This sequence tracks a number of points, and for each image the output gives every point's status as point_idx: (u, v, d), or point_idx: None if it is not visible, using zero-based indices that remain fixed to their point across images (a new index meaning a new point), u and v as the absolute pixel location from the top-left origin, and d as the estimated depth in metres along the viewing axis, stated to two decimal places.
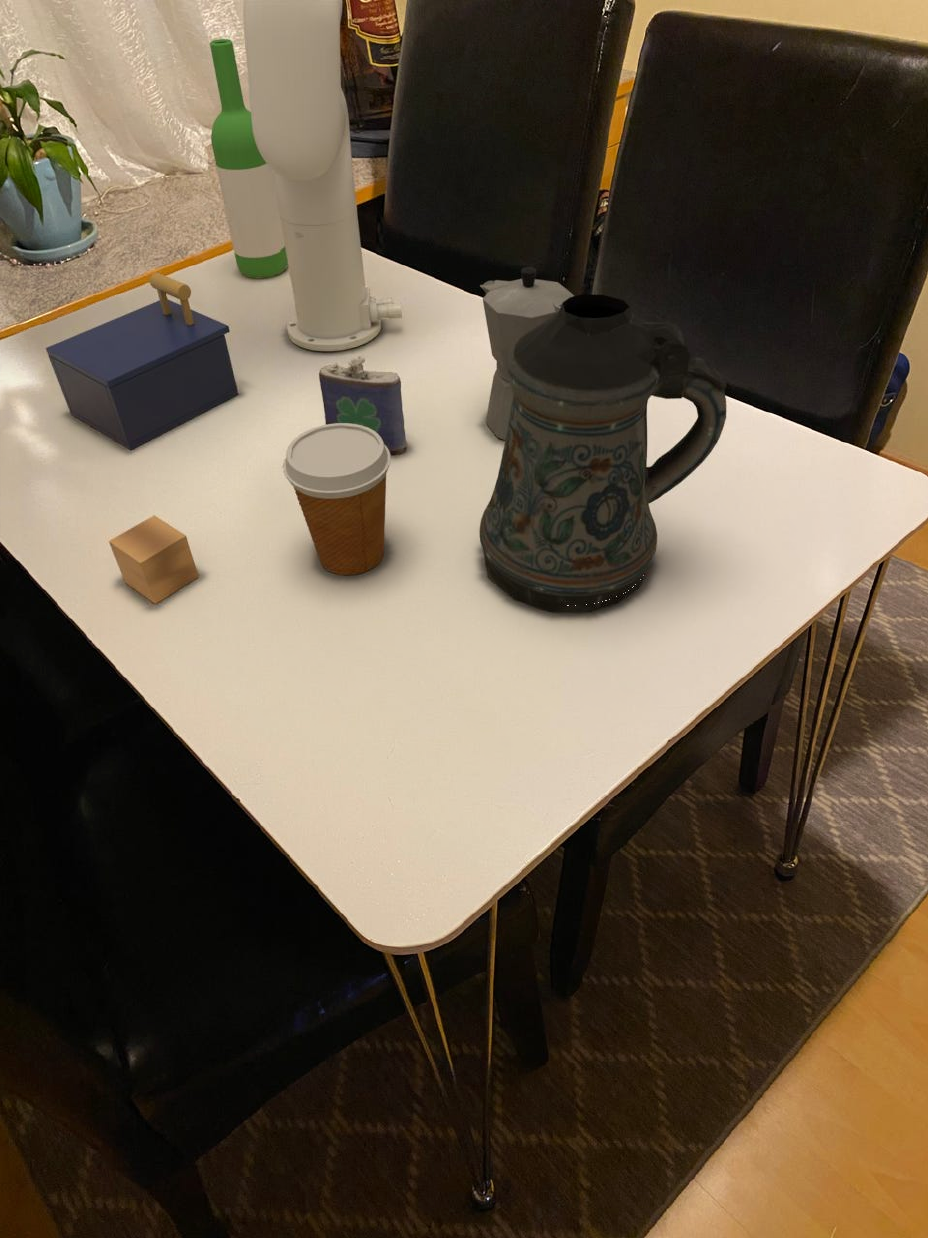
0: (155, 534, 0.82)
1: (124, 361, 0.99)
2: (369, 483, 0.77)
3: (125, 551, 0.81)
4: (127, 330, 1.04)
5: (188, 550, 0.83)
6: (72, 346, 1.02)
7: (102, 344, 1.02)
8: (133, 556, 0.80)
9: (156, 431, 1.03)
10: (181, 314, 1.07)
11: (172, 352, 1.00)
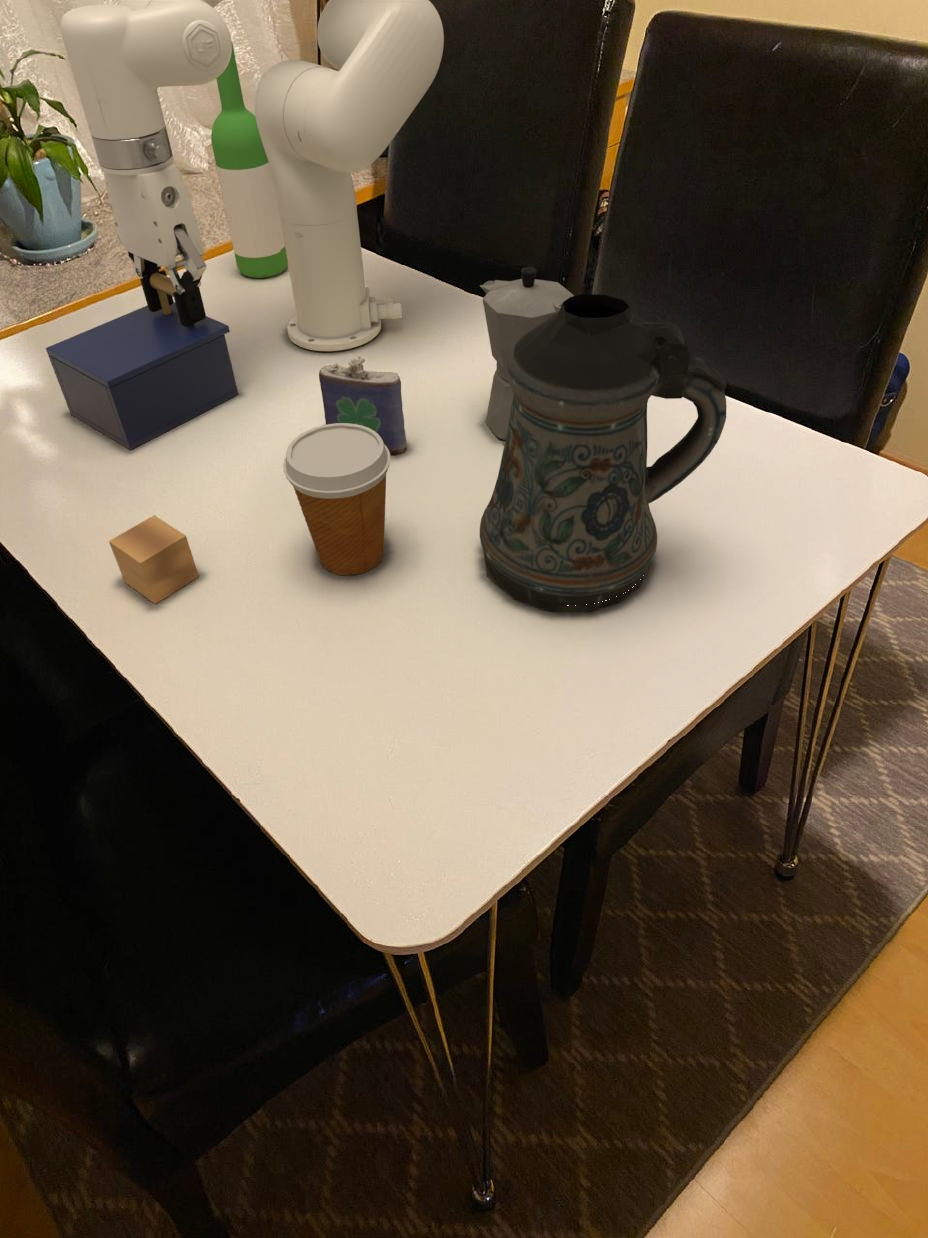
0: (155, 534, 0.82)
1: (124, 361, 0.99)
2: (369, 483, 0.77)
3: (125, 551, 0.81)
4: (127, 330, 1.04)
5: (188, 550, 0.83)
6: (72, 346, 1.02)
7: (102, 344, 1.02)
8: (133, 556, 0.80)
9: (156, 431, 1.03)
10: None
11: (172, 352, 1.00)
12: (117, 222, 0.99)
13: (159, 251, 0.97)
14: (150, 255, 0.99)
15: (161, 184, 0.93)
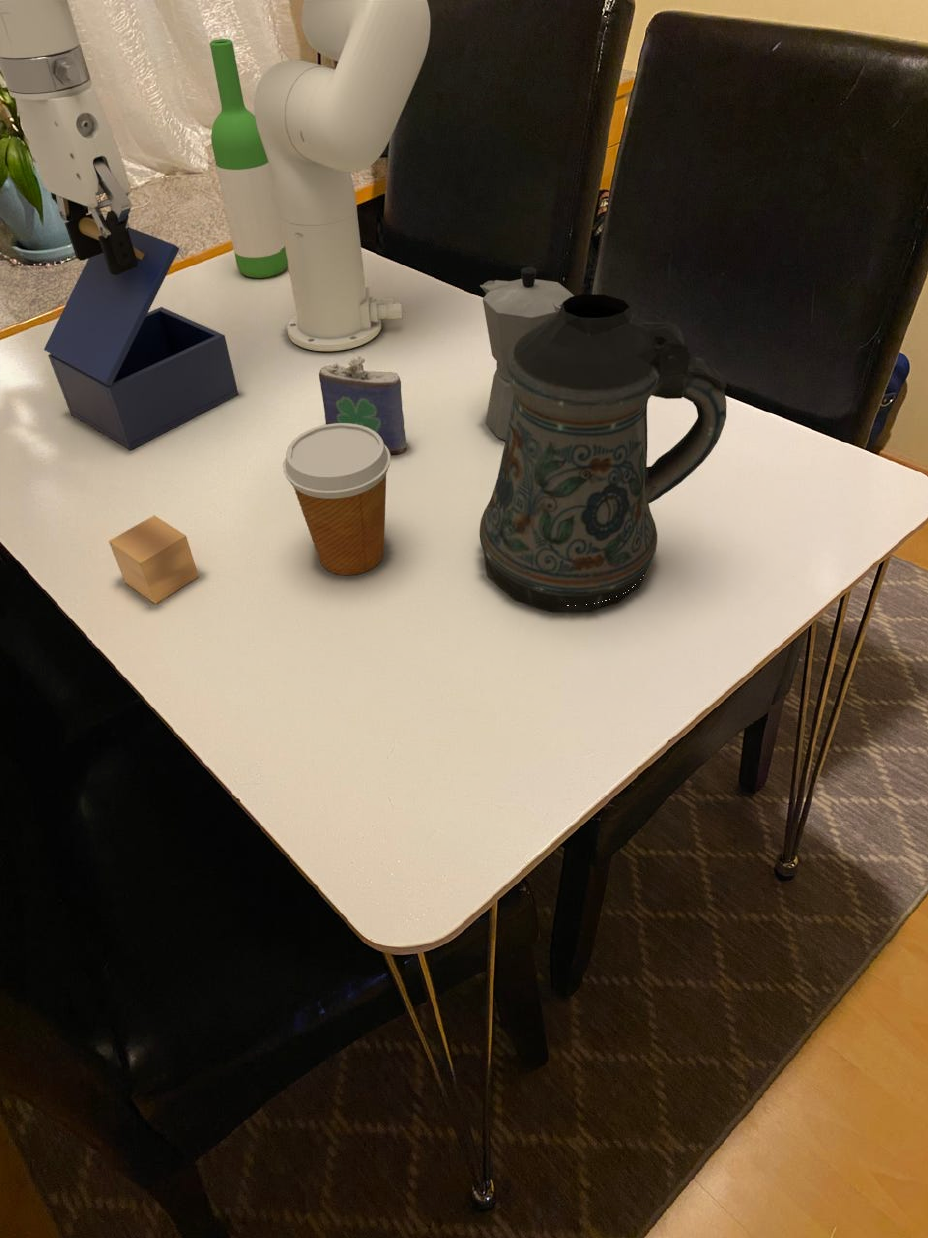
0: (155, 534, 0.82)
1: (108, 345, 0.97)
2: (369, 483, 0.77)
3: (125, 551, 0.81)
4: (95, 292, 1.00)
5: (188, 550, 0.83)
6: (62, 337, 1.01)
7: (83, 324, 0.99)
8: (133, 556, 0.80)
9: (156, 431, 1.03)
10: None
11: (141, 312, 0.95)
12: (34, 158, 0.90)
13: (79, 188, 0.88)
14: (70, 193, 0.89)
15: (76, 110, 0.83)
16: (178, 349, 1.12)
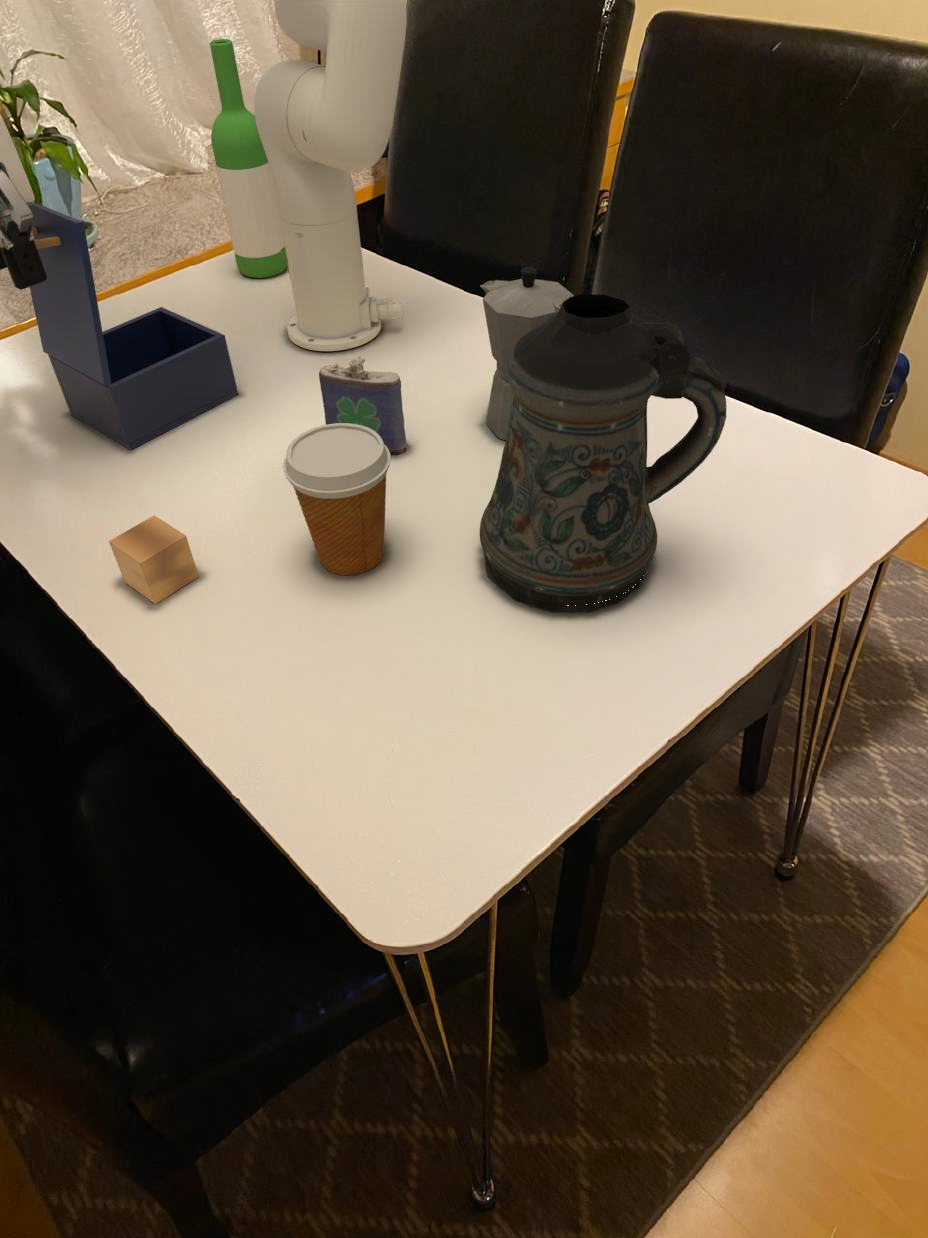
0: (155, 534, 0.82)
1: (86, 345, 0.95)
2: (369, 483, 0.77)
3: (125, 551, 0.81)
4: (46, 286, 0.95)
5: (188, 550, 0.83)
6: (49, 338, 1.00)
7: (56, 322, 0.97)
8: (133, 556, 0.80)
9: (156, 431, 1.03)
10: (41, 223, 0.90)
11: (92, 306, 0.91)
12: None
13: None
14: None
15: None
16: (178, 349, 1.12)
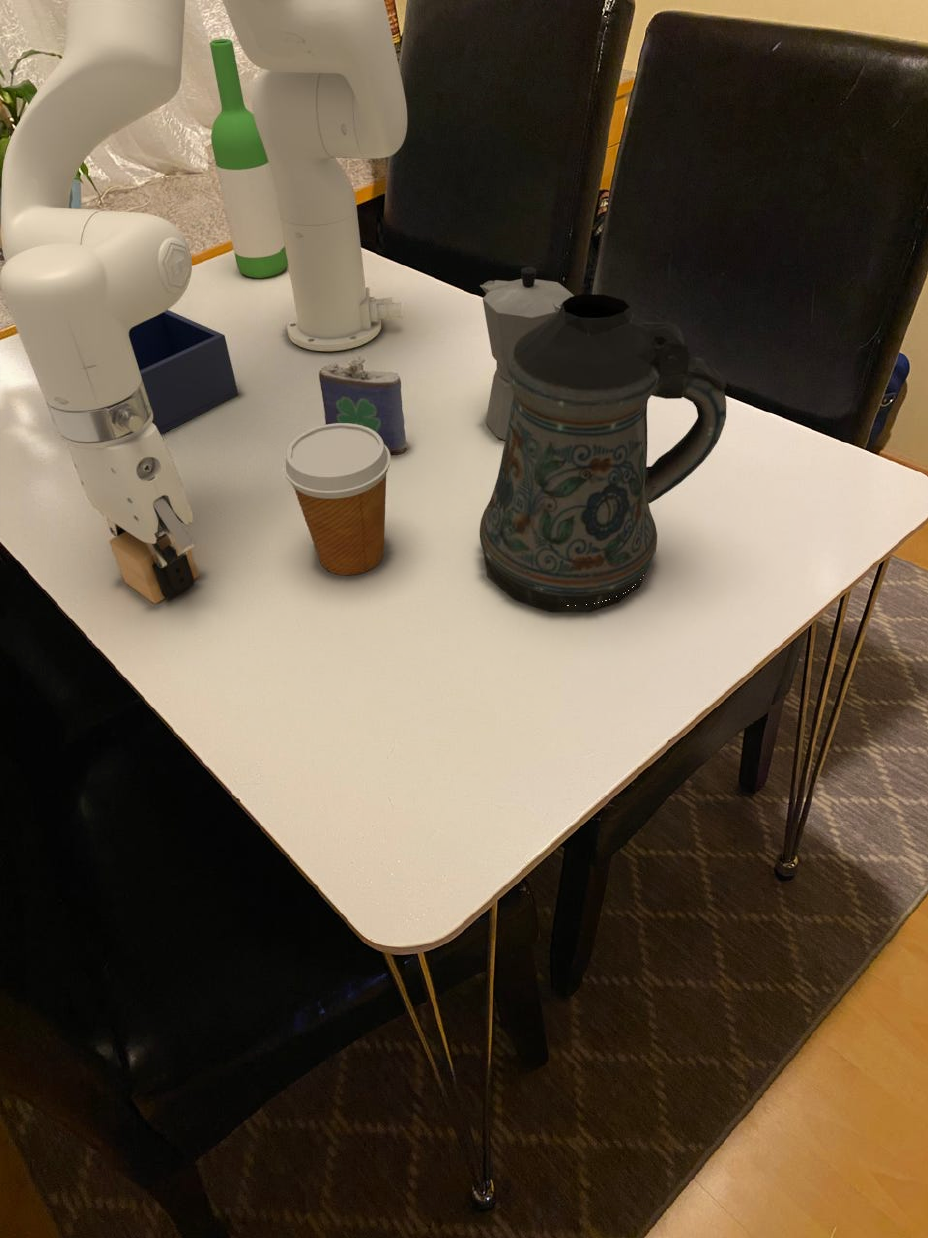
0: None
1: None
2: (369, 483, 0.77)
3: (125, 551, 0.81)
4: None
5: (188, 550, 0.83)
6: None
7: None
8: (133, 556, 0.80)
9: None
10: None
11: None
12: (83, 482, 0.78)
13: (135, 527, 0.76)
14: (124, 526, 0.78)
15: (136, 457, 0.72)
16: (178, 349, 1.12)
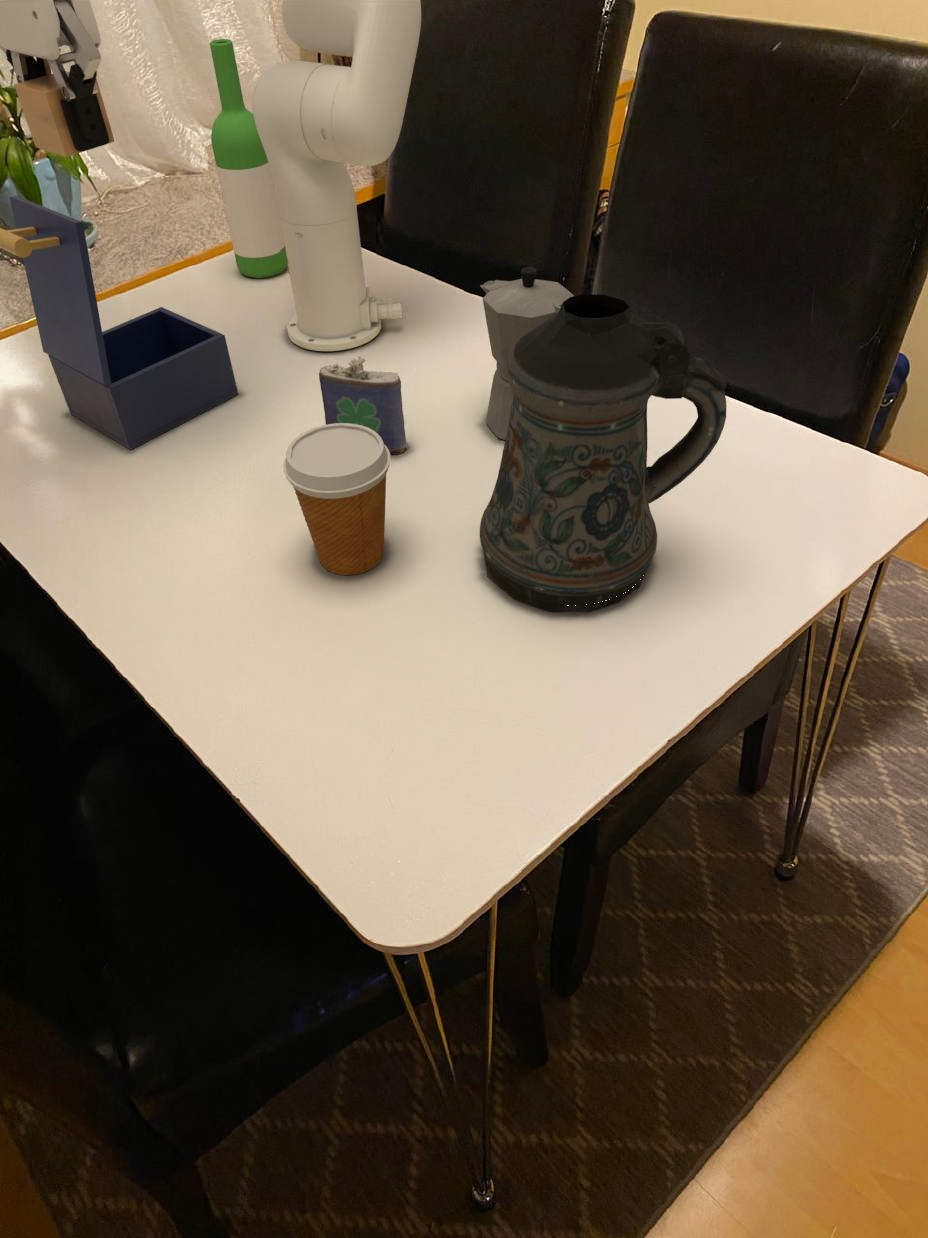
0: None
1: (86, 345, 0.95)
2: (369, 483, 0.77)
3: (30, 87, 0.75)
4: (46, 286, 0.95)
5: (100, 99, 0.78)
6: (49, 338, 1.00)
7: (56, 322, 0.97)
8: (38, 89, 0.75)
9: (156, 431, 1.03)
10: (40, 224, 0.90)
11: (91, 306, 0.91)
12: None
13: (36, 32, 0.71)
14: (26, 43, 0.73)
15: None
16: (178, 349, 1.12)
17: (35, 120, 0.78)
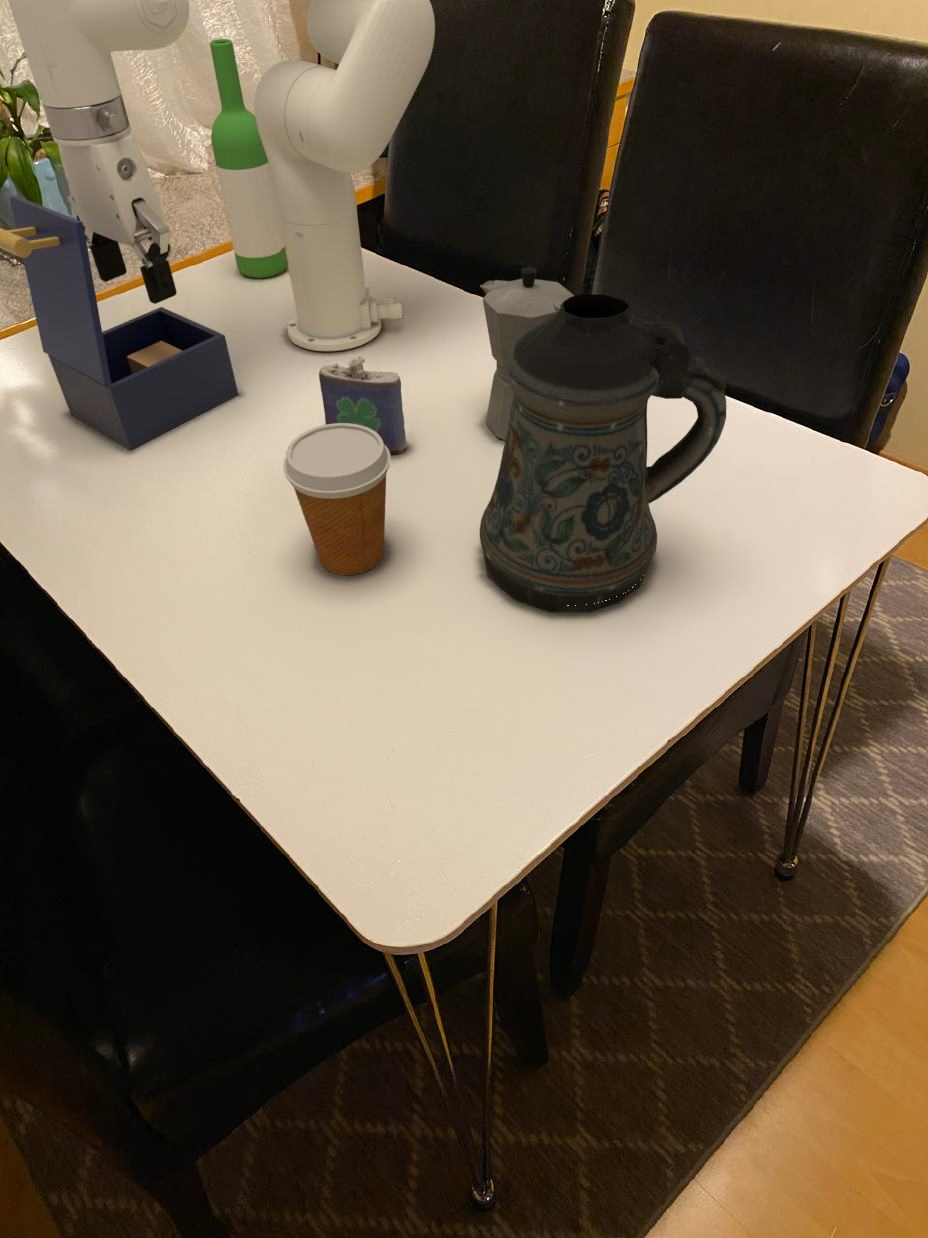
0: (162, 351, 1.06)
1: (86, 345, 0.95)
2: (369, 483, 0.77)
3: (140, 362, 1.05)
4: (46, 286, 0.95)
5: None
6: (49, 338, 1.00)
7: (56, 322, 0.97)
8: (145, 364, 1.04)
9: (156, 431, 1.03)
10: (40, 224, 0.90)
11: (91, 306, 0.91)
12: (74, 197, 0.95)
13: (117, 227, 0.92)
14: (109, 232, 0.94)
15: (117, 155, 0.88)
16: None
17: None
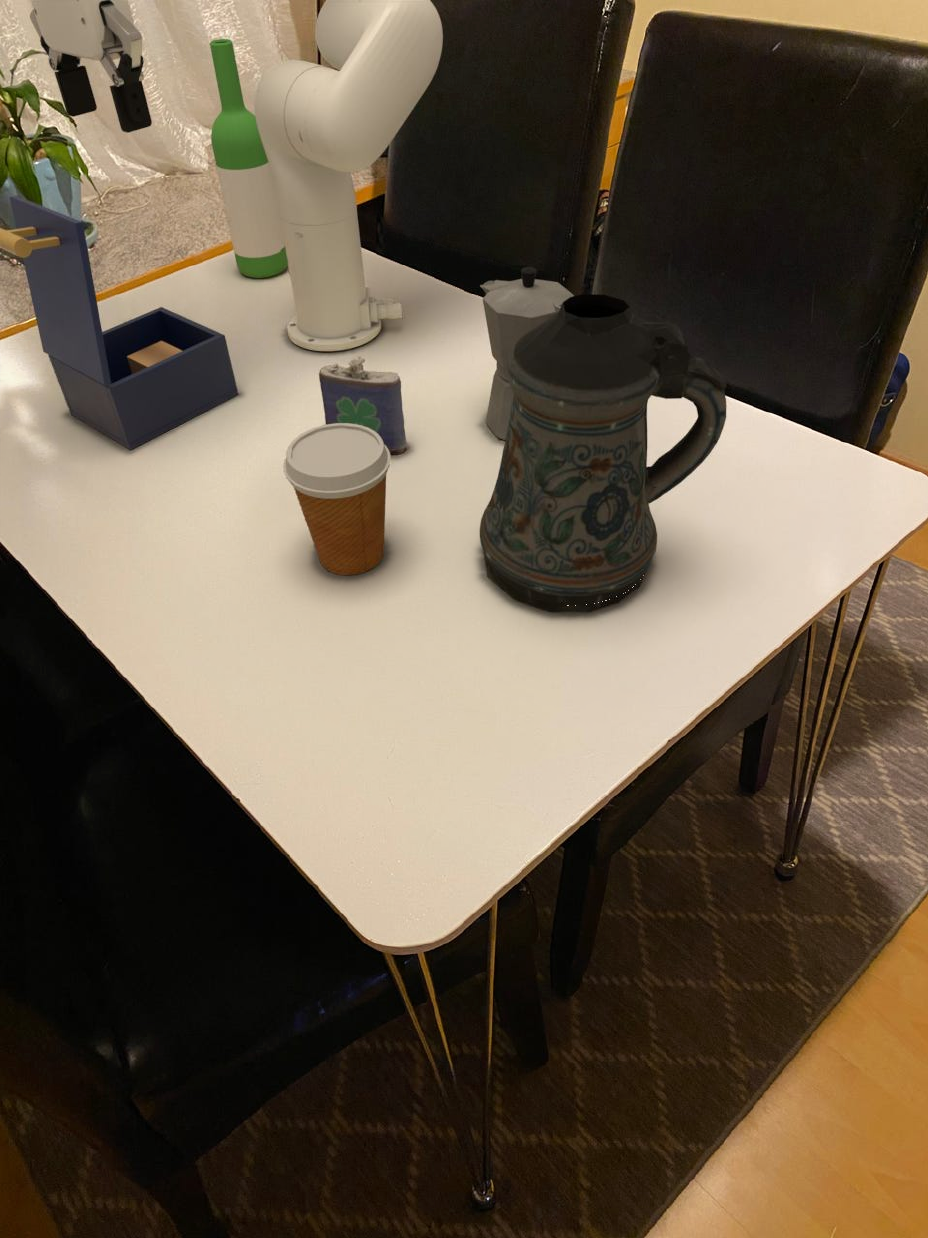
0: (162, 351, 1.06)
1: (86, 345, 0.95)
2: (369, 483, 0.77)
3: (140, 362, 1.05)
4: (46, 286, 0.95)
5: None
6: (49, 338, 1.00)
7: (56, 322, 0.97)
8: (145, 364, 1.04)
9: (156, 431, 1.03)
10: (40, 224, 0.90)
11: (91, 306, 0.91)
12: (36, 8, 0.84)
13: (83, 36, 0.82)
14: (74, 45, 0.84)
15: None
16: None
17: None
